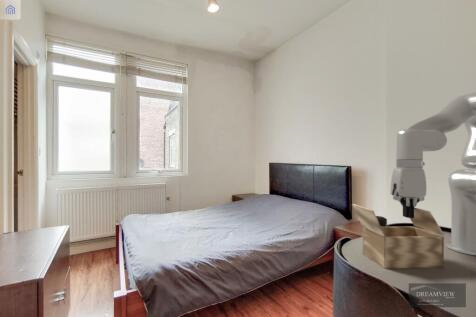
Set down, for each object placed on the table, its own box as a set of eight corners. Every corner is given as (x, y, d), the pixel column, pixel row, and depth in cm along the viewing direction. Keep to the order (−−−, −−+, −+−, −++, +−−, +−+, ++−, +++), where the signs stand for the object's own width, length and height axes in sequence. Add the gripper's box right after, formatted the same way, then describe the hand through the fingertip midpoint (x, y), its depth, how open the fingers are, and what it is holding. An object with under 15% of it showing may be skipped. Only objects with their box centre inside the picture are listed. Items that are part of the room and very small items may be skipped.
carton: (413, 253, 89) (414, 226, 89) (443, 267, 77) (443, 236, 78) (362, 253, 88) (363, 226, 88) (385, 268, 76) (385, 237, 76)
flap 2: (414, 225, 89) (415, 224, 89) (442, 235, 78) (444, 234, 78) (401, 205, 89) (402, 204, 89) (428, 212, 77) (430, 211, 77)
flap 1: (353, 203, 88) (352, 204, 88) (373, 210, 76) (372, 211, 76) (363, 225, 88) (362, 226, 88) (384, 235, 76) (383, 236, 76)
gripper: (420, 165, 87) (419, 215, 87) (381, 164, 87) (380, 214, 86) (439, 165, 80) (438, 220, 80) (396, 164, 79) (395, 219, 79)
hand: (408, 217), depth 83 cm, fingers closed
